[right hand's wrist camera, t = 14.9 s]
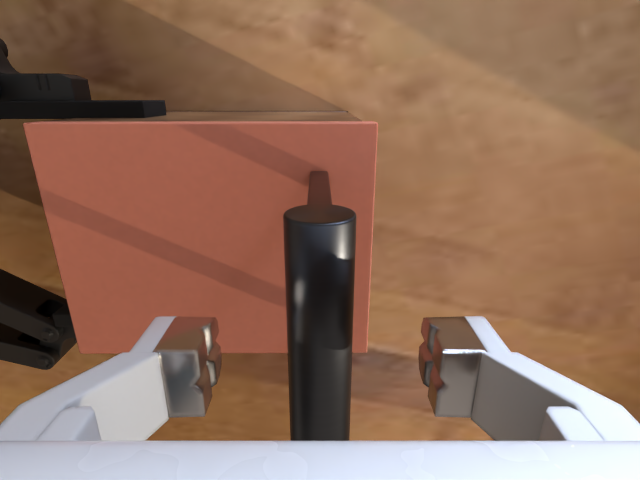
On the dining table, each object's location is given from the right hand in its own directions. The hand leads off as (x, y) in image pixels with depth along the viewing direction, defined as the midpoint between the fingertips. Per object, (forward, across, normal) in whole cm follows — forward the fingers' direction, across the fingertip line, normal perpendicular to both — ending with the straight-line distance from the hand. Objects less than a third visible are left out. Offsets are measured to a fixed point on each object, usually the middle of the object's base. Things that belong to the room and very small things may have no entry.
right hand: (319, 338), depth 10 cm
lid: (+7, -4, 0) cm, 9 cm away
